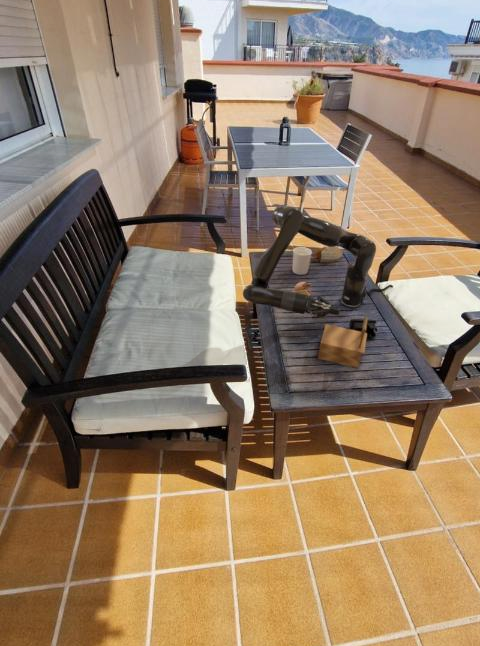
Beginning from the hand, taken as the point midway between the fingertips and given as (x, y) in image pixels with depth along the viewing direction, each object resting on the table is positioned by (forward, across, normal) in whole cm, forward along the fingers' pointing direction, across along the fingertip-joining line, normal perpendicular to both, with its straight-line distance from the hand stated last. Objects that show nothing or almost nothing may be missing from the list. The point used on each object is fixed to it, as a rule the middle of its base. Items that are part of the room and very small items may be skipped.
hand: (339, 312), depth 145 cm
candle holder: (-26, +60, +20) cm, 68 cm away
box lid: (+4, 0, +12) cm, 13 cm away
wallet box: (+4, 0, +19) cm, 20 cm away
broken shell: (-20, +35, +20) cm, 45 cm away
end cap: (+11, +16, +20) cm, 27 cm away
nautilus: (-16, +78, +19) cm, 82 cm away
